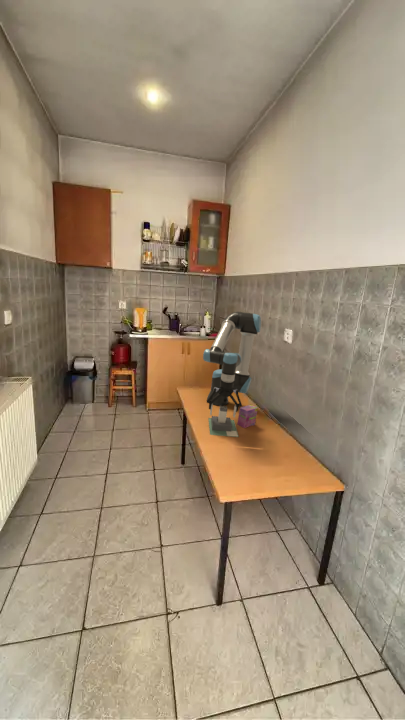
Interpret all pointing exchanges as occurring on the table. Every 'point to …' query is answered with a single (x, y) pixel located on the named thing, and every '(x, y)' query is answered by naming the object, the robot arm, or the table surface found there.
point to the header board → (222, 433)
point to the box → (247, 416)
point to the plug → (222, 414)
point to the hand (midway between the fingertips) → (222, 415)
